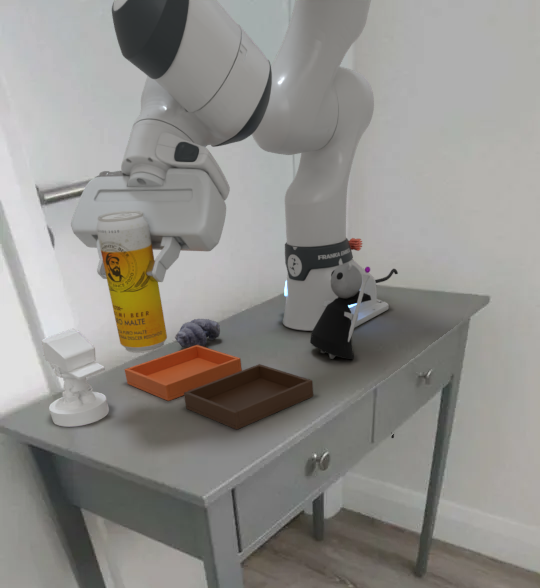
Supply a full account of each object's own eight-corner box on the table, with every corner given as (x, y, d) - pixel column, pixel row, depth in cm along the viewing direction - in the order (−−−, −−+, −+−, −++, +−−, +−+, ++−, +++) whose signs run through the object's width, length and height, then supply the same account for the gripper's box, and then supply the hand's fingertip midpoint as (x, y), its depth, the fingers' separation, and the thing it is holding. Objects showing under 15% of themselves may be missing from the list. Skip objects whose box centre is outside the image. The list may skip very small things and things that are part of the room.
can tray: (199, 358, 116) (197, 344, 114) (242, 373, 108) (240, 358, 107) (127, 383, 108) (124, 369, 107) (168, 401, 101) (165, 385, 99)
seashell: (216, 344, 125) (180, 361, 120) (200, 320, 125) (163, 336, 119) (229, 329, 121) (193, 347, 116) (213, 304, 120) (176, 320, 115)
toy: (298, 344, 114) (319, 251, 107) (331, 349, 117) (354, 259, 110) (326, 363, 106) (352, 263, 98) (361, 368, 109) (389, 271, 101)
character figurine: (86, 400, 104) (66, 322, 97) (124, 411, 99) (106, 330, 91) (41, 419, 99) (16, 339, 91) (79, 432, 94) (56, 349, 86)
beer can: (112, 352, 83) (83, 219, 73) (137, 337, 87) (112, 210, 78) (153, 355, 81) (128, 219, 71) (176, 340, 85) (155, 209, 76)
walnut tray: (260, 379, 105) (259, 363, 104) (313, 396, 98) (312, 380, 96) (186, 408, 98) (183, 392, 96) (236, 429, 91) (234, 412, 89)
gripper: (77, 153, 80) (46, 259, 79) (219, 148, 72) (186, 265, 72) (107, 190, 86) (79, 288, 85) (242, 188, 78) (211, 297, 77)
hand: (129, 277), depth 78 cm, fingers closed on beer can, 6 cm apart
